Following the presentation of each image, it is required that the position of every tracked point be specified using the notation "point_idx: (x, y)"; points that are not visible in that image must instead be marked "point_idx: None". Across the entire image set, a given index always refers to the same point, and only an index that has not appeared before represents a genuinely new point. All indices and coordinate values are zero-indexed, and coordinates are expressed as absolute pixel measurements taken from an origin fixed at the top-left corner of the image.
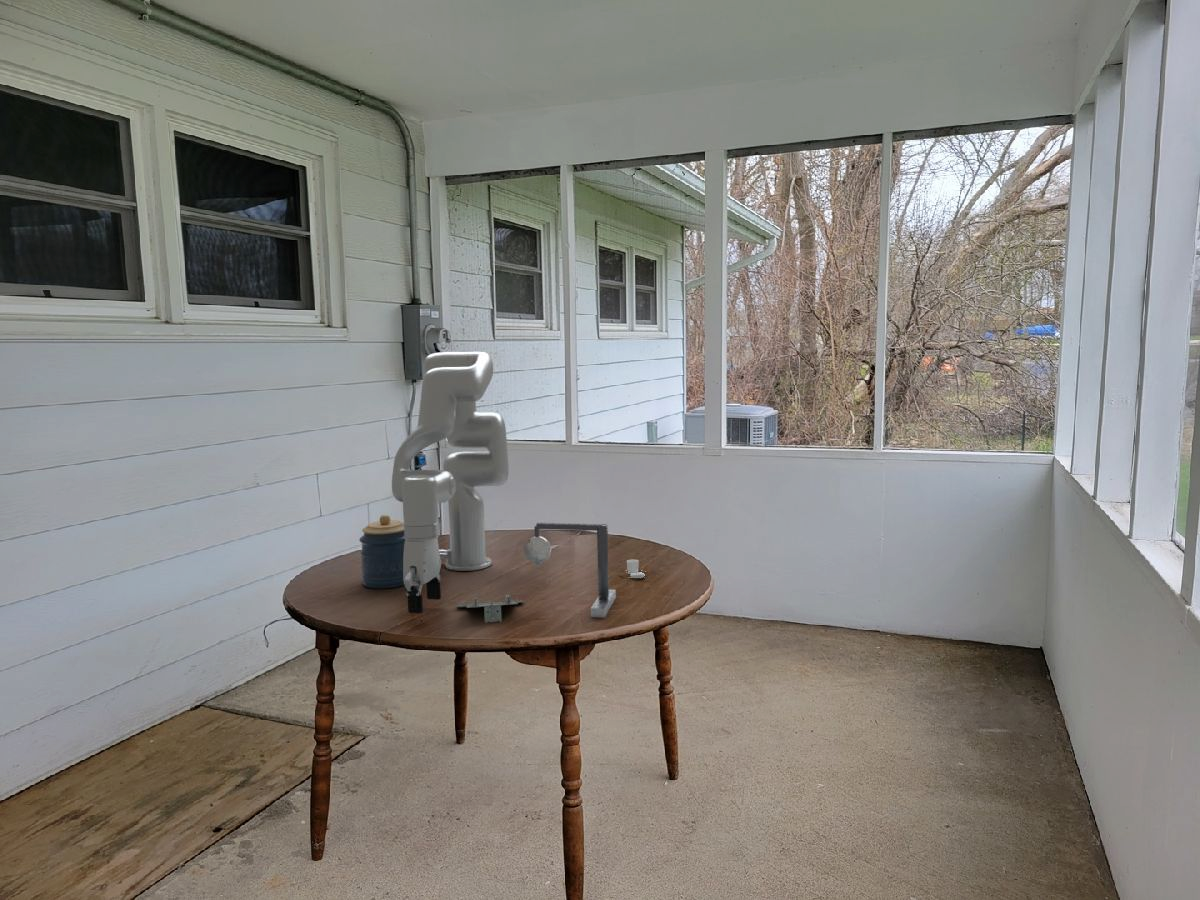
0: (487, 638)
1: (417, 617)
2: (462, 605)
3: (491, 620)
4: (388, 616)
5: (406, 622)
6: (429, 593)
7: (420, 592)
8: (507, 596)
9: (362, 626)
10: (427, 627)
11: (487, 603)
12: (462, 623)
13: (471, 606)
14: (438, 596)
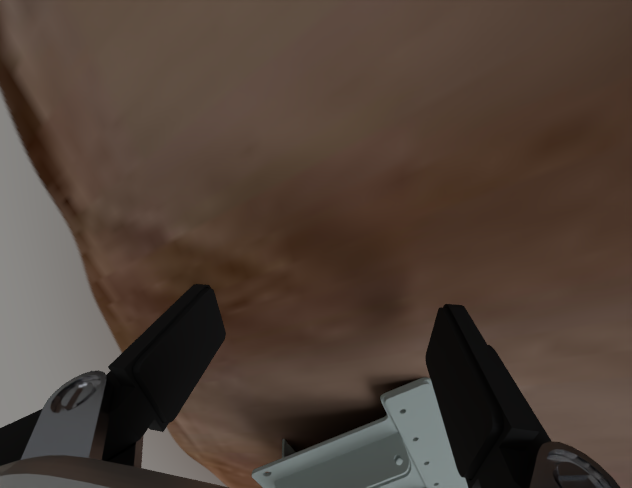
0: (194, 442)
1: (269, 277)
2: (389, 411)
3: (290, 452)
4: (238, 123)
5: (201, 256)
6: (447, 346)
7: (137, 450)
8: None
9: (47, 50)
10: None
11: (415, 461)
12: (259, 403)
13: (272, 476)
14: (431, 371)
